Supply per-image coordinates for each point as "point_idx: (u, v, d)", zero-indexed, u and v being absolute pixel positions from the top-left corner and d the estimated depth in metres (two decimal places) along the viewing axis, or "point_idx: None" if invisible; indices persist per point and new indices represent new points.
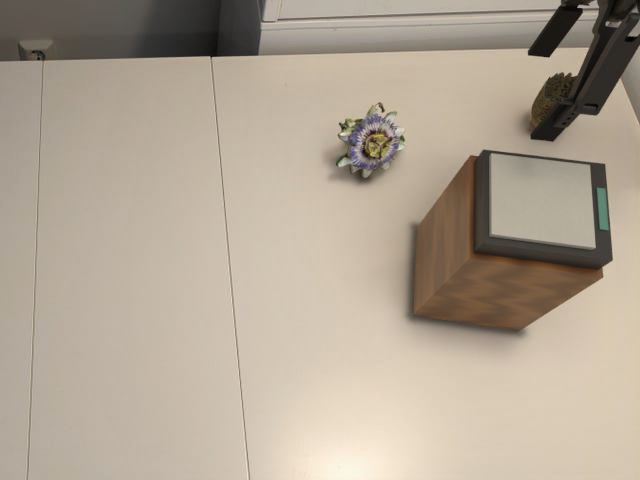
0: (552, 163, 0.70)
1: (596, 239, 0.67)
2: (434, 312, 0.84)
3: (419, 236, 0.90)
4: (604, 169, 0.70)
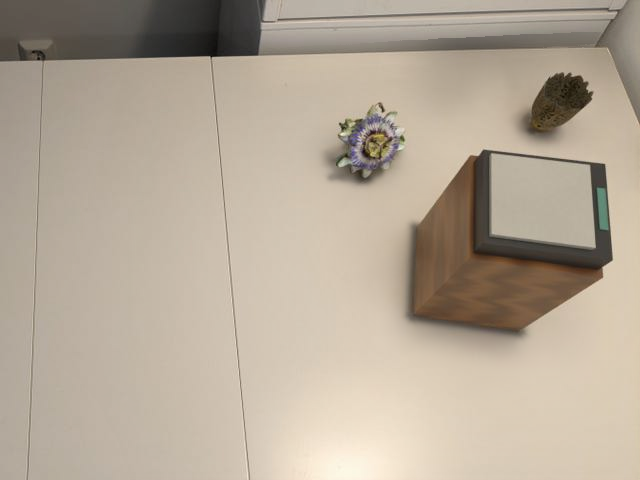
0: (552, 163, 0.70)
1: (596, 239, 0.67)
2: (434, 312, 0.84)
3: (419, 236, 0.90)
4: (604, 169, 0.70)
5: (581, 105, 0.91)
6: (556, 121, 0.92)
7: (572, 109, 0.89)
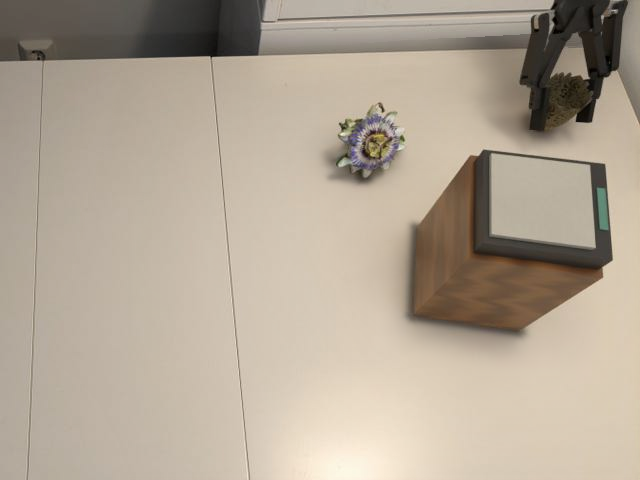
0: (552, 163, 0.70)
1: (596, 239, 0.67)
2: (434, 312, 0.84)
3: (419, 236, 0.90)
4: (604, 169, 0.70)
5: (581, 105, 0.91)
6: (556, 121, 0.92)
7: (572, 109, 0.89)
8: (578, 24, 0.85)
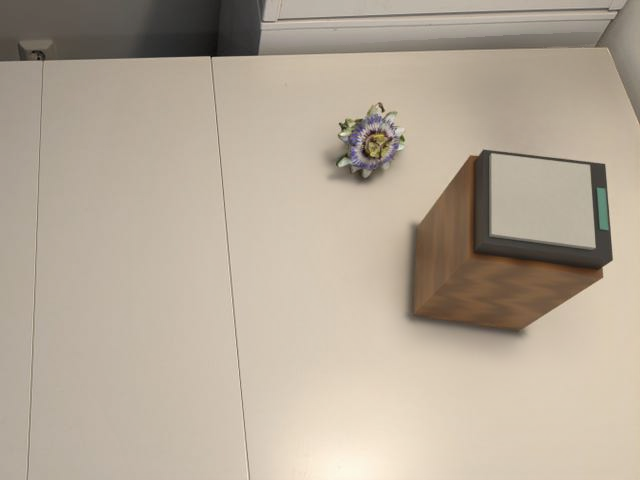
0: (552, 163, 0.70)
1: (596, 239, 0.67)
2: (434, 312, 0.84)
3: (419, 236, 0.90)
4: (604, 169, 0.70)
5: None
6: None
7: None
8: None
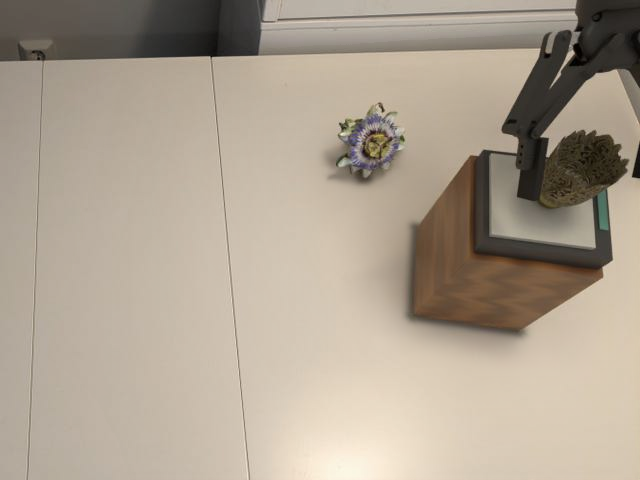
0: None
1: (596, 239, 0.67)
2: (434, 312, 0.84)
3: (419, 236, 0.90)
4: None
5: (610, 177, 0.62)
6: (574, 200, 0.63)
7: (598, 186, 0.60)
8: (614, 58, 0.56)
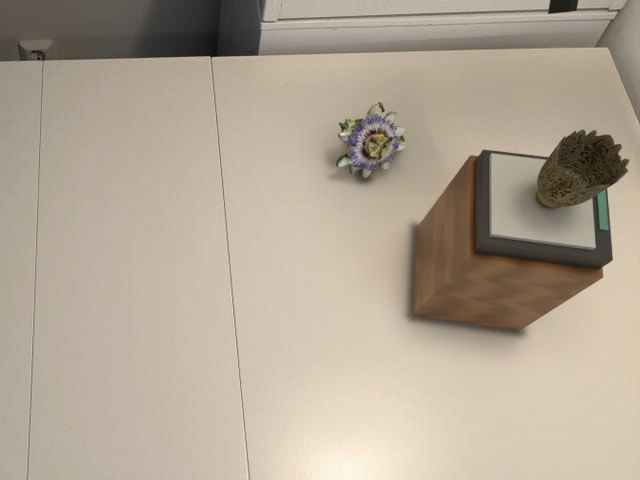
0: None
1: (596, 239, 0.67)
2: (434, 312, 0.84)
3: (419, 236, 0.90)
4: None
5: (610, 177, 0.62)
6: (574, 200, 0.63)
7: (598, 186, 0.60)
8: None
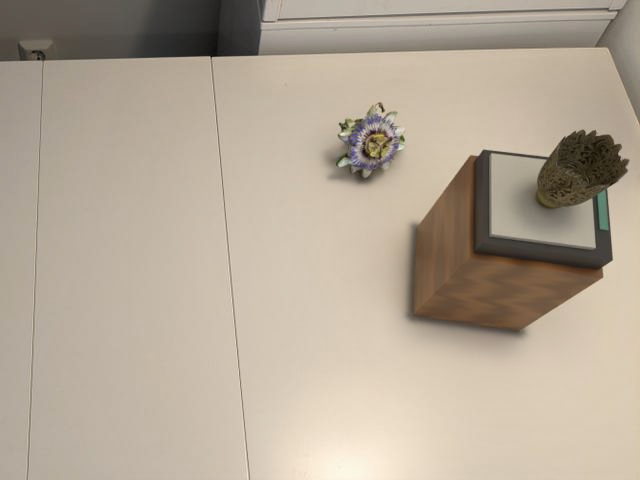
0: None
1: (596, 239, 0.67)
2: (434, 312, 0.84)
3: (419, 236, 0.90)
4: None
5: (610, 177, 0.62)
6: (574, 200, 0.63)
7: (598, 186, 0.60)
8: None
